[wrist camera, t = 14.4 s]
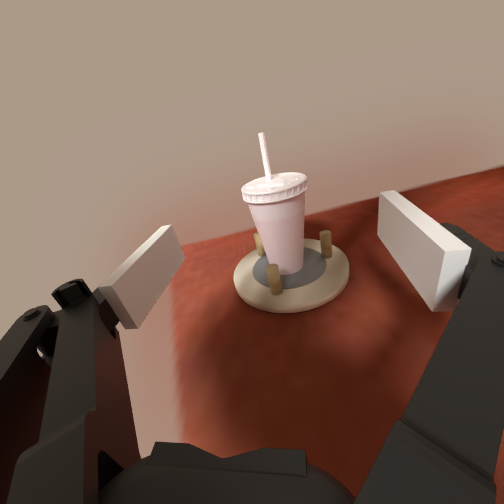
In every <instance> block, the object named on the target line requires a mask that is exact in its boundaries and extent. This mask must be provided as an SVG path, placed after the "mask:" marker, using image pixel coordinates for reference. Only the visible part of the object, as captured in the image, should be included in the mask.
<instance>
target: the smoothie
mask: <svg viewBox="0 0 504 504" xmlns="http://www.w3.org/2000/svg"><path fill="white" fill-rule="evenodd" d="M258 136H259V141H260V147H261V153H262V159H263V164H264V170H265V175H266V176H265V177H261V178H258V179H255V180H253V181H251V182H249V183H247V184H245V185H244V186H243V187H242V189H241V191H242V195H243V200H244V201H246V202H247V203H248V206H249V209H250V212H251V214H252V217H253V219H254V222H255V225H256V228H257V231H258V233H259V236H260V239H261V242H262V245H263V247H264V250H265V253H266V256H267V258H268V261H269V264H277V265H278V267H279V273H280V275H289V274H293V273H296V272H298V271H299V270H300V269H301V268H302V267H303V253H304V207H305V205H304V204H305V190H307V188H308V184H307V177H306V175H304V174H302V173H296V172H290V173H279V174H274V175H271V170H270V164H269V158H268V152H267V147H266V140H265V134H264V132H261V133H258Z"/></svg>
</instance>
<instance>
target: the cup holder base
mask: <svg viewBox="0 0 504 504" xmlns="http://www.w3.org/2000/svg"><path fill="white" fill-rule="evenodd" d="M254 238H255V242H256V247H257V249H256V250H254V251H252V252H251V253H249V254H248V255H246V256H245V257H244V258H243V259H242V260H241V261H240V262H239V264H238V265H237V267H236V269H235V271H234V283H235V287H236V290H237V292H238V294H239V296H240V297H241V298H242V300H244V301H245V302H246V303H247V304H249V305H250V306H252V307H255V308H257V309H260V310H263V311H267V312H273V313H295V312H302V311H307V310H311V309H314V308H317V307H319V306H322V305H324V304H326V303H328V302H329V301H331V300H333V299H334V298H335V297H337V296H338V295H339V294H340V293H341V292H342V291H343V290H344V288H345V287H346V285H347V283H348V280H349V261H348V259H347V257H346V255H345V254H344V253H343V252H342V251H341V250H340V249H339V248H337V247H336V246H334V245H332V241H331V231H329V230H323V231H321V232H320V240H314V239H304V253H303V267H302V268H301V269H300V270H299V271H298V272H296V273H293V274H289V275H280V273H279V267H278V265H277V264H269V261H268V258H267V256H266V253H265V250H264V247H263V245H262V242H261V239H260V236H259V233H258V232H256V233H254Z"/></svg>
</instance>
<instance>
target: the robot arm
mask: <svg viewBox="0 0 504 504" xmlns="http://www.w3.org/2000/svg"><path fill="white" fill-rule="evenodd" d="M377 235H378V237H379V238H380V240H381V241H382V242H383V244H384V245H385V247H386V248H387V249H388V251H389V252H390V254H391V255H392V256H393V258H394V259H395V261H396V262H397V263H398V265H399V266H400V268H401V269H402V270H403V272H404V273H405V275H406V276H407V277H408V279H409V280H410V282H411V283H412V284H413V286H414V287H415V289H416V290H417V291H418V293H419V294H420V296H421V297H422V298H423V300H424V301H425V303H426V304H427V305H428V307H429V308H430V310H431V311H432V312H440V311H454V312H453V314H452V316H451V318H450V320H449V322H448V324H447V326H446V328H445V330H444V332H443V334H442V336H441V338H440V341H439V343H438V345H437V347H436V349H435V351H434V353H433V355H432V357H431V359H430V361H429V363H428V365H427V367H426V369H425V371H424V373H423V375H422V377H421V379H420V381H419V383H418V386H417V388H416V390H415V392H414V394H413V396H412V398H411V400H410V402H409V404H408V406H407V408H406V410H405V412H404V414H403V416H402V417H401V419H397V421H396V422H395V424H394V425H393V427H392V429H391V431H390V432H389V434H388V436H387V438H386V440H385V442H384V444H383V446H382V448H381V450H380V452H379V454H378V456H377V458H376V460H375V462H374V464H373V466H372V468H371V470H370V472H369V474H368V476H367V478H366V480H365V482H364V484H363V486H362V488H361V490H360V492H359V494H358V496H357V498H355V497H354V496H353V495H352V493H351V492H350V491H349V490H348V489H347V488H346V487H345V486H344V485H343V484H342V483H340V482H339V481H338V480H337V479H336V478H334V477H333V476H332V475H330V474H329V473H328V472H326V471H324V470H322V469H321V468H319V467H317V466H315V465H312V464H310V463H308V461H307V457H306V452H305V450H295V449H277V448H262V449H258V450H254V451H251V452H247V453H243V454H239V455H236V456H232V457H228V458H220V457H217V456H215V455H213V454H211V453H208V452H206V451H204V450H202V449H200V448H197V447H195V446H193V445H191V444H188V443H170V442H155V445H154V447H153V450H152V452H151V455H150V456H147V457H145V458H143V459H141V457H140V453H139V449H138V443H137V437H136V431H135V425H134V419H133V413H132V407H131V402H130V396H129V390H128V384H127V378H126V372H125V366H124V360H123V354H122V349H121V342H120V337H119V332H118V330H117V329H116V327H115V326H116V325H117V324H118V322H119V321H120V322H121V324H122V325H123V327H124V328H125V329H138V328H139V327H140V325H141V324H142V322H143V321H144V319H145V318H146V316H147V315H148V313H149V312H150V311H151V309H152V307H153V306H154V304H155V303H156V302H157V300H158V299H159V297H160V296H161V294H162V293H163V291H164V290H165V288H166V287H167V285H168V284H169V282H170V281H171V279H172V278H173V276H174V275H175V273H176V272H177V270H178V269H179V267H180V266H181V264H182V263H183V261H184V260H185V256H184V253H183V251H182V248H181V246H180V244H179V241H178V239H177V236H176V234H175V231H174V229H173V226H172V225H167V226H161V227H160V228H159V229H158V230H157V231H156V232H155V233H154V234H153V235H152V236H151V237H150V238H149V239H148V240H147V241H146V242H145V243H144V244H142V246H140V247H139V248H138V249H137V250H136V251H135V252H134V253H133V254H132V255H131V256H130V257H129V258H128V259H127V260H126V261H124V263H122V264H121V265H120V266H119V267H118V268H117V269H116V270H115V271H114V272H113V273H112V274H111V275H110V276H109V277H108V278H107V279H106V280H104V281H103V282H102V283H101V284H100V285H99V286H98V288H97V289H96V290H95V291H94V292H93V293H92V292H91V291H90V289H89V288H88V286H87V285H86V284H85V282H84V280H83V279H75V280H72V281H69V282H67V283H65V284H63V285H61V286H60V287H58V288H57V289H55V290H54V291H53V293H52V296H53V297H54V299H55V300H56V301H57V302H58V304H59V305H60V306H61V307H62V310H60V311H56V312H52V311H51V309H50V308H49V307H48V306H47V305H42V306H38V307H36V308H32V309H30V310H28V311H27V312H25V313H24V314H23V315H22V316H20V318H18V319H17V320H16V321H15V323H14V324H13V325H12V327H11V328H10V329H9V330H8V332H7V333H6V334H5V335H4V337H3V338H2V339H1V340H0V504H495V499H496V485H495V483H494V471H495V466H496V461H497V457H498V452H499V448H500V443H501V438H502V434H503V429H504V252H495V251H493V250H492V249H490V248H489V247H488V246H486V245H485V244H483V243H482V242H480V241H479V240H477V239H476V238H475V239H474V237H473V236H472V235H470V234H467V232H466V231H464V230H463V229H461V228H460V227H458V226H455V225H452V224H449V223H440V224H439V223H437V222H436V221H435V220H433V219H432V218H431V217H429V216H428V215H427V214H425V213H424V212H423V211H421V210H420V209H419V208H417V207H416V206H415V205H414V204H412V203H411V202H410V201H408V200H407V199H406V198H404V197H403V196H402V195H400V194H399V193H398V192H396V191H395V190H390V191H384V192H379V212H378V232H377ZM458 299H459V302H458V304H457V301H458ZM456 305H457V306H456ZM37 348H38V349H39V351H40V352H42V354H43V356H42V358H41V357H40V356H39V354H38V352H37Z"/></svg>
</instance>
